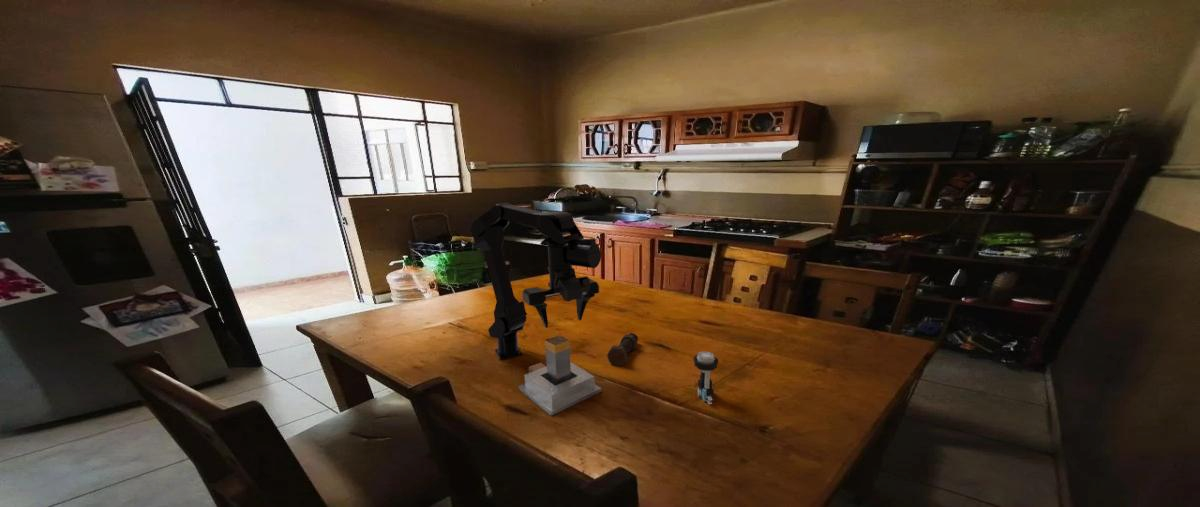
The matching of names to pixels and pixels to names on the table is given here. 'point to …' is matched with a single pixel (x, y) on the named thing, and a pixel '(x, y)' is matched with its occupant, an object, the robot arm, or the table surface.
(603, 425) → the table surface
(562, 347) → the grey square peg
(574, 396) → the grey socket base
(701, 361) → the push button
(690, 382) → the table surface
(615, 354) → the bolt
